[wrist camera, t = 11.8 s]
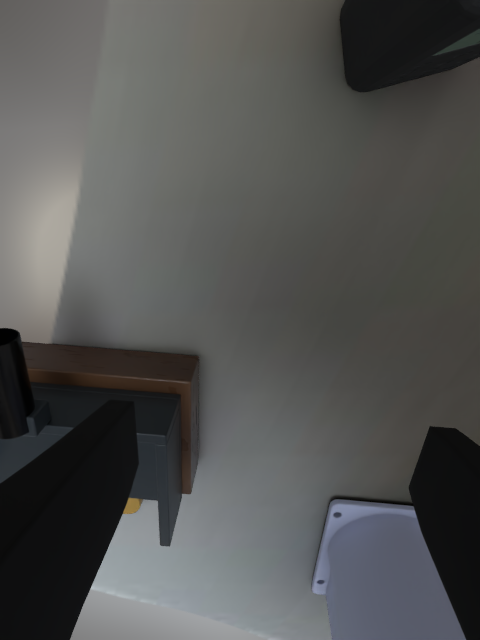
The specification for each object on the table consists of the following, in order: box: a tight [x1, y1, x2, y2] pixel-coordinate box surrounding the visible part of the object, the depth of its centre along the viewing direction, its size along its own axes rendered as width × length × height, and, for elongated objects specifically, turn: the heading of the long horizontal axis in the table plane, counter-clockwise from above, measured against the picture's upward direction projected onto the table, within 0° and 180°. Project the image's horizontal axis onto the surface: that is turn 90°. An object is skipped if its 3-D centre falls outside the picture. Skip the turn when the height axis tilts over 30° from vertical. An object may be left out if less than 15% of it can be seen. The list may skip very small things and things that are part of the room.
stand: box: [22, 342, 199, 494], centre depth 20 cm, size 8×13×2 cm, turn 87°
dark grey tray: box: [0, 328, 182, 546], centre depth 17 cm, size 11×12×4 cm
